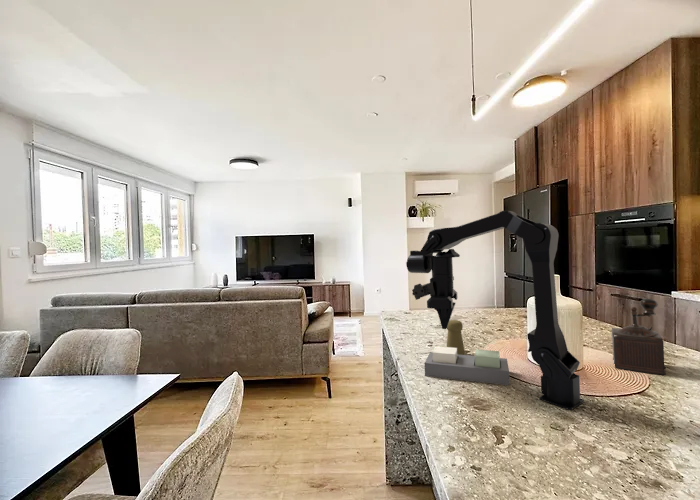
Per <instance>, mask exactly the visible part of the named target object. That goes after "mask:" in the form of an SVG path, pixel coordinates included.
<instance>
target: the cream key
mask: <svg viewBox="0 0 700 500" xmlns="http://www.w3.org/2000/svg"><path fill="white" fill-rule="evenodd" d="M432 352H433V362H441V363H452V364H456V363H457V348H452V347H447V346H439V345H438V346H435V347H434V349H433V351H432Z"/></svg>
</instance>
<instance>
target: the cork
mask: <svg viewBox="0 0 700 500" xmlns="http://www.w3.org/2000/svg"><path fill="white" fill-rule="evenodd" d="M463 327H464V326H463V323H462V321H461V320H458V319H450V320H449V323H448V326H447V328H446V330H447V339H446V347H452V348H457V354H458V355H466V352H465V345H464V341H463V336H462V335H463V334H462V330H463Z"/></svg>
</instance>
